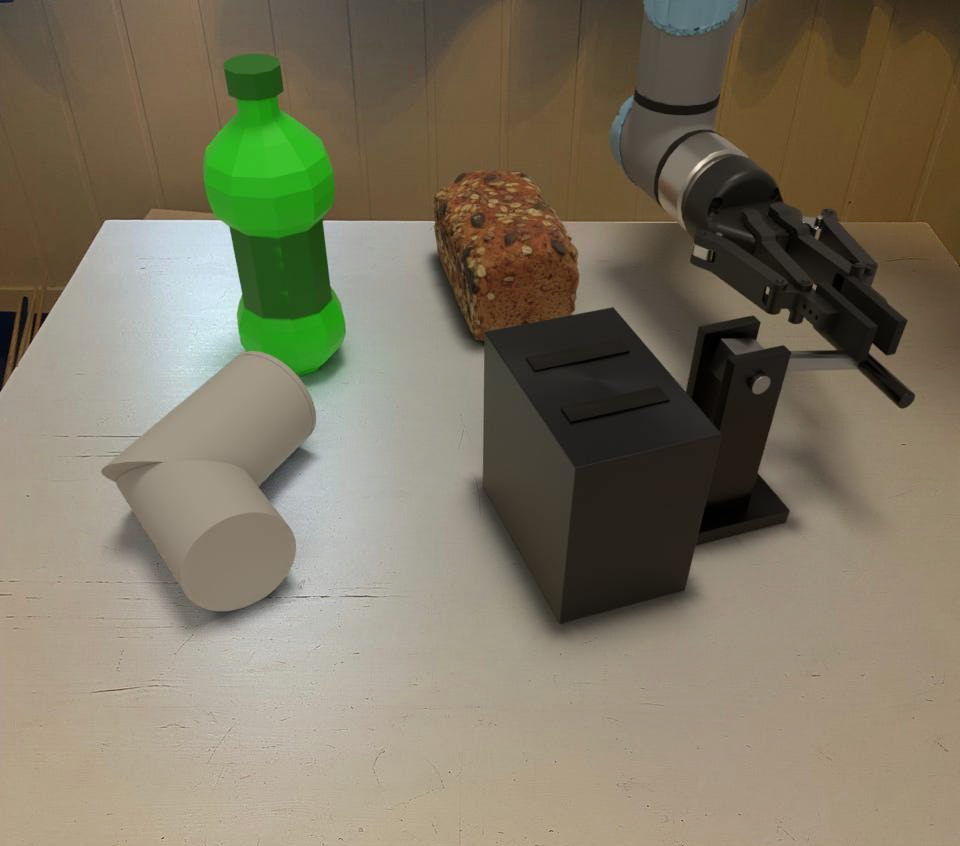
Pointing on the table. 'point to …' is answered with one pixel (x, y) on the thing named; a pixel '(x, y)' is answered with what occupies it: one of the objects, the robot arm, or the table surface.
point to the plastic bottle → (275, 219)
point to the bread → (504, 251)
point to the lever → (821, 365)
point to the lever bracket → (738, 428)
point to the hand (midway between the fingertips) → (882, 341)
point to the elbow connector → (220, 481)
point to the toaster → (594, 461)
